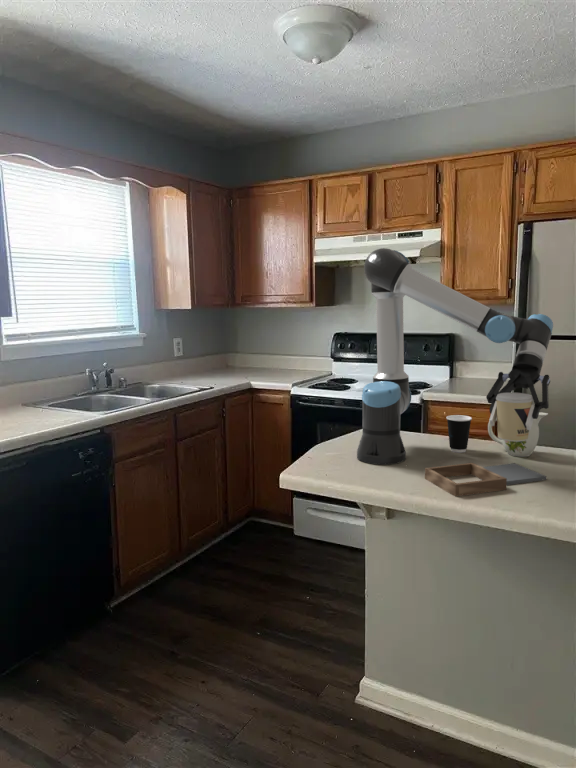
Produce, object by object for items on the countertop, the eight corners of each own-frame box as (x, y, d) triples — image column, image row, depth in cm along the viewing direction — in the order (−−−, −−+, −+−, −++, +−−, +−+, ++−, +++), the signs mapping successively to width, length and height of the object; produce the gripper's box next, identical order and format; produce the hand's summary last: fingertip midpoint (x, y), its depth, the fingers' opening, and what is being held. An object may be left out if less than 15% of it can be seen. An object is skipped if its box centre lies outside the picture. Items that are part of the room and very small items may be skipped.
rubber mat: (475, 471, 160) (476, 467, 160) (514, 466, 163) (514, 463, 163) (505, 485, 147) (505, 481, 147) (546, 479, 151) (546, 476, 151)
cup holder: (424, 478, 154) (425, 468, 154) (471, 472, 158) (472, 462, 158) (455, 496, 140) (455, 485, 139) (506, 489, 144) (506, 478, 144)
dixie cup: (476, 450, 180) (477, 417, 179) (460, 455, 176) (461, 421, 174) (455, 446, 187) (456, 413, 185) (440, 450, 182) (441, 417, 180)
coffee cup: (521, 444, 147) (522, 399, 145) (488, 438, 154) (489, 395, 152) (537, 437, 153) (539, 394, 151) (505, 432, 160) (506, 391, 158)
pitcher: (493, 445, 187) (494, 405, 185) (550, 453, 175) (553, 411, 173) (481, 452, 178) (482, 410, 176) (540, 462, 167) (542, 417, 165)
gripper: (571, 370, 156) (554, 437, 146) (494, 366, 169) (473, 427, 160) (568, 353, 151) (550, 422, 141) (488, 350, 165) (466, 413, 155)
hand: (509, 425), depth 150 cm, fingers closed on coffee cup, 9 cm apart
